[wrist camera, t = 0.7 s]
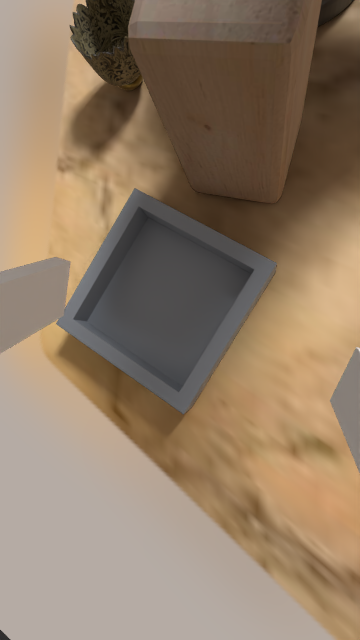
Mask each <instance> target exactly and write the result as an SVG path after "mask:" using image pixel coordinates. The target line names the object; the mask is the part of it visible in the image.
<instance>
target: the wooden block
mask: <svg viewBox="0 0 360 640" xmlns="http://www.w3.org/2000/svg"><path fill="white" fill-rule="evenodd" d="M321 2H322V0H135V3H134V6H133V10H132V14H131V17H130V21H129V25H128V38H129V46H130V50H131V52H132V54H133V57H134V59H135V61H136V63H137V66H138V68H139V70H140V72H141V75H142V77H143V79H144V81H145V84H146V86H147V88H148V90H149V93H150V95H151V97H152V99H153V102H154V104H155V106H156V108H157V111H158V113H159V115H160V117H161V120H162V122H163V124H164V126H165V129H166V131H167V133H168V135H169V138H170V140H171V142H172V144H173V147H174V149H175V151H176V153H177V156H178V158H179V160H180V162H181V165H182V167H183V169H184V171H185V174H186V176H187V178H188V180H189V183H190V185H191V187H192V189H194V190H195V191H197V192H201V193H208V194H214V195H220V196H227V197H233V198H239V199H246V200H252V201H258V202H264V203H276V202H277V201H278V200H279V198H280V197H281V196H282V192H283V188H284V185H285V181H286V177H287V173H288V170H289V166H290V162H291V158H292V155H293V151H294V147H295V143H296V140H297V136H298V132H299V128H300V125H301V120H302V114H303V108H304V102H305V96H306V90H307V85H308V79H309V73H310V67H311V61H312V55H313V49H314V43H315V37H316V32H317V26H318V20H319V14H320V8H321Z"/></svg>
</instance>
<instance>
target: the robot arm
mask: <svg viewBox="0 0 360 640" xmlns="http://www.w3.org/2000/svg"><path fill="white" fill-rule="evenodd" d="M352 1H353V0H322V2H321V8H320V14H319V20H318V26H320V25H322V24H324V23H325V22H327V21H329V20H331V19H332V18H334V17H335V16H336V15H338V14H339V13H340V12H342V11H343V10H344V9H345V8H346V7H347V6H348V5H349V4H350V3H351V2H352ZM69 270H70V261H67V260H64V259H60V258H57V257H54V258H50V259H46V260H42V261H39V262H35V263H31V264H27V265H24V266H20V267H16V268H13V269H9V270H5V271H2V272H0V353H2V352H4V351H5V350H7V349H9V348H11V347H12V346H14V345H16V344H17V343H19V342H21V341H22V340H24V339H26V338H27V337H29V336H30V335H32V334H34V333H36V332H37V331H39V330H41V329H42V328H44V327H46V326H47V325H49V324H51V323H52V322H54V321H56V320H57V319H59V318H61V317H62V316H64V310H65V302H66V294H67V286H68V278H69ZM330 402H331V404H332V407H333V409H334V412H335V414H336V416H337V419H338V421H339V424H340V426H341V429H342V431H343V434H344V436H345V438H346V441H347V443H348V446H349V448H350V451H351V453H352V456H353V458H354V460H355V463H356V465H357V468H358V470H359V473H360V348H357V347H356V349H355V351H354V353H353V355H352V357H351V359H350V361H349V363H348V365H347V367H346V369H345V371H344V373H343V375H342V377H341V379H340V381H339V383H338V385H337V387H336V389H335V391H334V393H333V395H332V397H331V399H330ZM0 640H10V639H9V638H8V637H7V636H6V635H5V634H4V633H3V632H2V631H1V630H0Z"/></svg>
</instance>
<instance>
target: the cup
mask: <svg viewBox="0 0 360 640" xmlns="http://www.w3.org/2000/svg"><path fill="white" fill-rule="evenodd" d="M134 3H135V0H86V5H87V7H88V8H87V7H86V6H84V5H82V4H78V5H77V9H76V11H77V13H75V12H73V18H74V25H75V26H71V25H70V29H71V31H72V33H73V35H72V36H71V37H70V38H71V40H72V42H73V44H74V45H75V47H76V48H77V49H78V51H79V52H80V53H81V54H82V56H83V57H84V58H85V59H86V61H87V62H88V63H89V64H90V66H91V67H92V68H93V69H94V71H95V72H96V73H97V74H98V75H99V76H100V77H101V78H102V79H103V80H105V81H106V82H108V83H110V84H112V85H116V86H119V87H120V88H121V89H123V90H126V91H131V90H134V89H136V88H137V87H138V86H139V85H140V84H141V82H142V80H143V77H142V75H141V72H140V70H139V68H138V66H137V63H136V61H135V59H134V57H133V54H132V52H131V50H130V46H129V38H128V25H129V21H130V17H131V14H132V10H133V6H134Z"/></svg>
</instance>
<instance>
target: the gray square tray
mask: <svg viewBox="0 0 360 640" xmlns="http://www.w3.org/2000/svg"><path fill="white" fill-rule="evenodd" d="M276 266H277V263H276V262H274V261H272V260H270V259H268V258H266V257H264V256H262V255H260V254H258V253H257V252H255V251H253V250H251V249H249V248H247V247H245V246H243V245H241V244H240V243H238V242H236V241H234V240H232V239H230V238H228V237H226V236H224V235H223V234H221V233H219V232H217V231H215V230H213V229H211V228H209V227H207V226H206V225H204V224H202V223H200V222H198V221H196V220H194V219H192V218H190V217H188V216H187V215H185V214H183V213H181V212H179V211H177V210H175V209H173V208H171V207H170V206H168V205H166V204H164V203H162V202H160V201H158V200H156V199H154V198H153V197H151V196H149V195H147V194H145V193H143V192H141V191H139V190H137V189H134V190H133V192H132V194H131V196H130V197H129V199H128V201H127V202H126V204H125V206H124V208H123V209H122V211H121V213H120V215H119V216H118V218H117V220H116V221H115V223H114V225H113V227H112V228H111V230H110V232H109V233H108V235H107V237H106V239H105V240H104V242H103V244H102V245H101V247H100V249H99V251H98V252H97V254H96V256H95V258H94V259H93V261H92V263H91V264H90V266H89V268H88V270H87V271H86V273H85V275H84V276H83V278H82V280H81V282H80V283H79V285H78V287H77V289H76V290H75V292H74V294H73V295H72V297H71V299H70V301H69V302H68V304H67V306H66V307H65V310H64V316H62V317H61V318H59V320H58V321H57V323H56V324H57V325H58V326H60V327H61V328H62V329H64V330H65V331H67V332H68V333H69V334H71V335H72V336H74V337H75V338H77V339H78V340H79V341H81V342H82V343H84V344H85V345H86V346H88V347H89V348H91V349H92V350H93V351H95V352H96V353H98V354H99V355H100V356H102V357H103V358H105V359H106V360H108V361H109V362H110V363H112V364H113V365H115V366H116V367H117V368H119V369H120V370H122V371H123V372H124V373H126V374H127V375H129V376H130V377H131V378H133V379H134V380H136V381H137V382H139V383H140V384H141V385H143V386H144V387H146V388H147V389H148V390H150V391H151V392H153V393H154V394H155V395H157V396H158V397H160V398H161V399H162V400H164V401H165V402H167V403H168V404H170V405H171V406H172V407H174V408H175V409H177V410H178V411H179V412H181V413H182V414H185V413H186V412H187V411H188V410H189V409H191V408H192V406H193V405H194V403H195V402H196V400H197V398H198V397H199V395H200V394H201V392H202V390H203V389H204V387H205V385H206V384H207V382H208V381H209V379H210V377H211V376H212V374H213V373H214V371H215V369H216V368H217V366H218V364H219V363H220V361H221V360H222V358H223V356H224V355H225V353H226V352H227V350H228V348H229V347H230V345H231V343H232V342H233V340H234V339H235V337H236V335H237V334H238V332H239V331H240V329H241V327H242V326H243V324H244V322H245V321H246V319H247V318H248V316H249V314H250V313H251V311H252V310H253V308H254V306H255V305H256V303H257V301H258V300H259V298H260V297H261V295H262V293H263V292H264V290H265V289H266V287H267V285H268V284H269V282H270V280H271V279H272V277H273V276H274V274H275V272H276Z"/></svg>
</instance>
